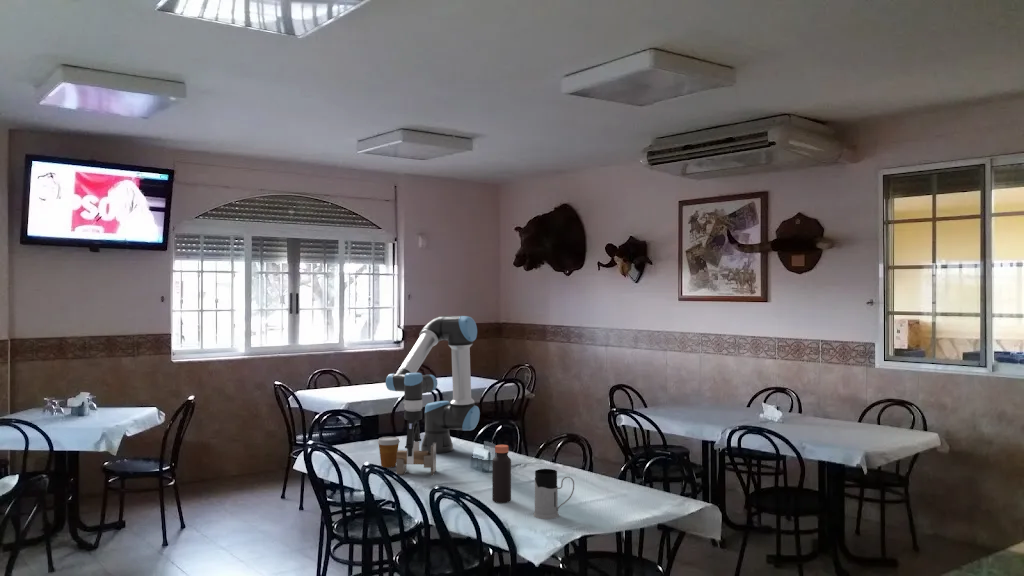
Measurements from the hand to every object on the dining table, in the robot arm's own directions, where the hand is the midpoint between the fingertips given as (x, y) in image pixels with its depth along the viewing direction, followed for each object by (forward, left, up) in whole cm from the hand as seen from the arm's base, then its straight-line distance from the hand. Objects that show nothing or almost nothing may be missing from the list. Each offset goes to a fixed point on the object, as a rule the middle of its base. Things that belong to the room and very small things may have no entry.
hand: (413, 460), depth 328 cm
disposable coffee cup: (-12, -13, -5) cm, 18 cm away
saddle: (0, -5, -5) cm, 7 cm away
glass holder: (+59, +59, -5) cm, 84 cm away
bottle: (+41, +40, -5) cm, 58 cm away
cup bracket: (0, +7, -5) cm, 9 cm away
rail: (0, 0, -1) cm, 1 cm away
